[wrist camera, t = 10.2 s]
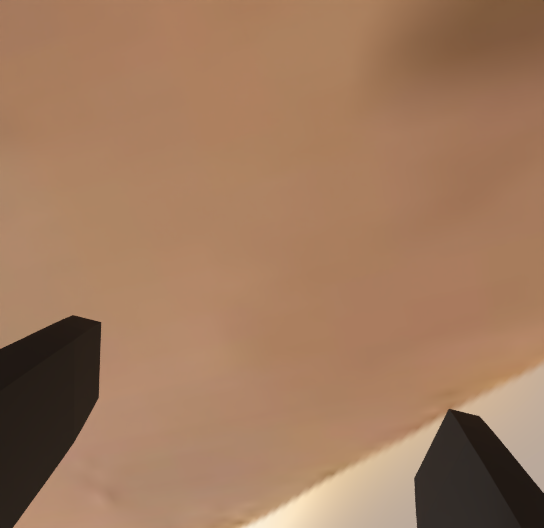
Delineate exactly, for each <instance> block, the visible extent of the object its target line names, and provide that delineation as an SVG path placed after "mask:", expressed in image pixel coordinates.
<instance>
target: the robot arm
mask: <svg viewBox="0 0 544 528" xmlns="http://www.w3.org/2000/svg"><path fill="white" fill-rule="evenodd" d="M100 342H101V322H98V321H94V320H90V319H86V318H82V317H78V316H74V315H72V316H70V317H68V318H65V319H63V320H61V321H58V322H56V323H54V324H52V325H50V326H48V327H46V328H44V329H41V330H39V331H37V332H35V333H33V334H31V335H29V336H27V337H25V338H23V339H21V340H19V341H16V342H14V343H12V344H10V345H8V346H6V347H4V348H2V349H0V528H13V527H14V525H15V524H16V523H17V521H18V520H19V518H20V517H21V516H22V514H23V513H24V511H25V510H26V509H27V507H28V506H29V505H30V503H31V502H32V500H33V499H34V498H35V496H36V495H37V494H38V492H39V491H40V489H41V488H42V487H43V485H44V484H45V482H46V481H47V480H48V478H49V477H50V475H51V474H52V473H53V471H54V470H55V468H56V467H57V466H58V464H59V463H60V461H61V460H62V459H63V457H64V456H65V454H66V453H67V452H68V450H69V449H70V447H71V446H72V444H73V443H74V441H75V440H76V438H77V436H78V434H79V433H80V431H81V429H82V427H83V426H84V424H85V422H86V420H87V418H88V416H89V415H90V413H91V411H92V409H93V407H94V405H95V403H96V402H97V400H98V398H99V371H100ZM414 481H415V502H416V516H417V528H544V493H543V492H542V491H541V490H540V488H539V487H538V486H537V485H536V483H535V482H534V481H533V480H532V479H531V477H530V476H529V475H528V474H527V472H526V471H525V470H524V469H523V467H522V466H521V465H520V464H519V463H518V461H517V460H516V459H515V458H514V456H513V455H512V454H511V453H510V452H509V450H508V449H507V448H506V447H505V446H504V444H503V443H502V442H501V441H500V439H499V438H498V437H497V436H496V435H495V434H494V432H493V431H492V430H491V429H490V428H489V426H488V425H487V424H486V423H485V422H484V421H483V420H482V419H481V418H480V417H479V416H476V415H472V414H468V413H464V412H460V411H456V410H452V409H449V410H448V412H447V414H446V416H445V418H444V420H443V422H442V424H441V426H440V428H439V430H438V432H437V434H436V436H435V438H434V440H433V442H432V444H431V446H430V448H429V450H428V452H427V454H426V456H425V458H424V460H423V462H422V464H421V466H420V468H419V470H418V472H417V474H416V476H415V478H414Z"/></svg>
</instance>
